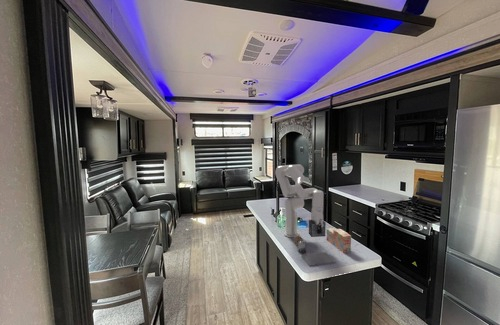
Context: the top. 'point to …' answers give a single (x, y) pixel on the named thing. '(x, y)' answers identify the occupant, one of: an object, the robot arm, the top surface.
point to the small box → (314, 227)
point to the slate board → (318, 258)
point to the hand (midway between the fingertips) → (316, 231)
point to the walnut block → (297, 240)
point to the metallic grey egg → (302, 246)
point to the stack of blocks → (339, 239)
